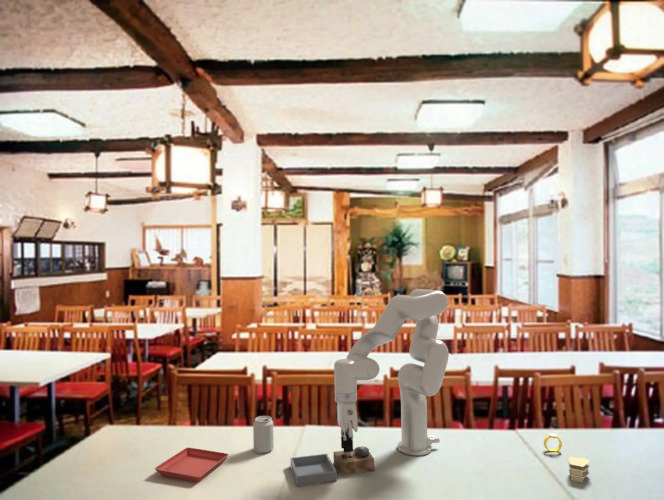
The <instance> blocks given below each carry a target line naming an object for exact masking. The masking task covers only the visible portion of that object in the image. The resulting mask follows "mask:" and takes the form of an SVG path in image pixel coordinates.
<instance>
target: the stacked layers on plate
mask: <svg viewBox="0 0 664 500" xmlns="http://www.w3.org/2000/svg"><path fill="white" fill-rule="evenodd" d="M589 463H590V460H589V459H587V458H584V457H578V456H577V457H575V456H570V457H568V467H569V468H568V472H569V476H570V479H571V480H570V481H574V482H578V483H584V479H585V478H586V477H588V475H589V474H590V473H591V471H590V470H589V468H590V464H589Z"/></svg>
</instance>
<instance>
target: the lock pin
mask: <svg viewBox="0 0 664 500" xmlns="http://www.w3.org/2000/svg"><path fill="white" fill-rule="evenodd" d="M346 436H347V434H346ZM343 440H344V435H343ZM346 458H351V452H344V459H346Z"/></svg>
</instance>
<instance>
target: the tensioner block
mask: <svg viewBox="0 0 664 500" xmlns="http://www.w3.org/2000/svg"><path fill="white" fill-rule="evenodd" d="M333 466H334V468H335V470H336V472H338V474H339V476H346V475H353V474H360V473H366V472H367V473H368V472H374V471H375V458H374V457H373V455H372V454H371V452H370V449H369V448H368V447H366V446H357V447H355V448H353V451H352V452H351V458H346V459H344V450H338V451H337V450H336V451H333Z"/></svg>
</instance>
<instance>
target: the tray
mask: <svg viewBox="0 0 664 500" xmlns="http://www.w3.org/2000/svg"><path fill="white" fill-rule="evenodd" d="M290 469H291V472H292V475H293V476H292V477H294V481H295V485H296V487H302V486H311V485H318V484H323V483H324V484H325V483H332V482H337V481H338V479H337V478H338V477H337V472H338V471H337V469H336V467H335V465H334V463H333V462H332V460H331V458H330V456H329V454H328V453H320V454H312V455H303V456H296V457H290Z"/></svg>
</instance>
